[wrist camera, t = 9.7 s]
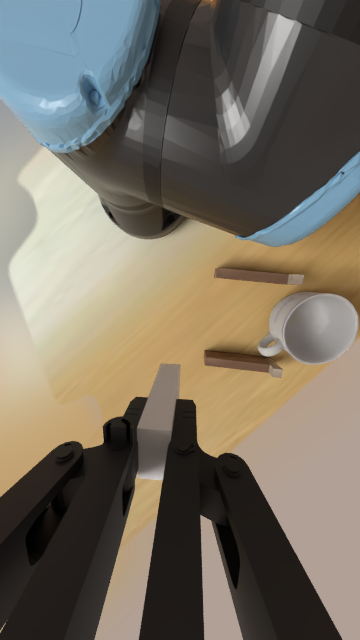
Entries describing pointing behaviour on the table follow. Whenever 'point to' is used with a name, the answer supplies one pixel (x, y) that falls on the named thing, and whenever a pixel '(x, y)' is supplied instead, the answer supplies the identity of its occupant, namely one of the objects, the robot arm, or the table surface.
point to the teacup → (311, 327)
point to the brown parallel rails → (246, 360)
